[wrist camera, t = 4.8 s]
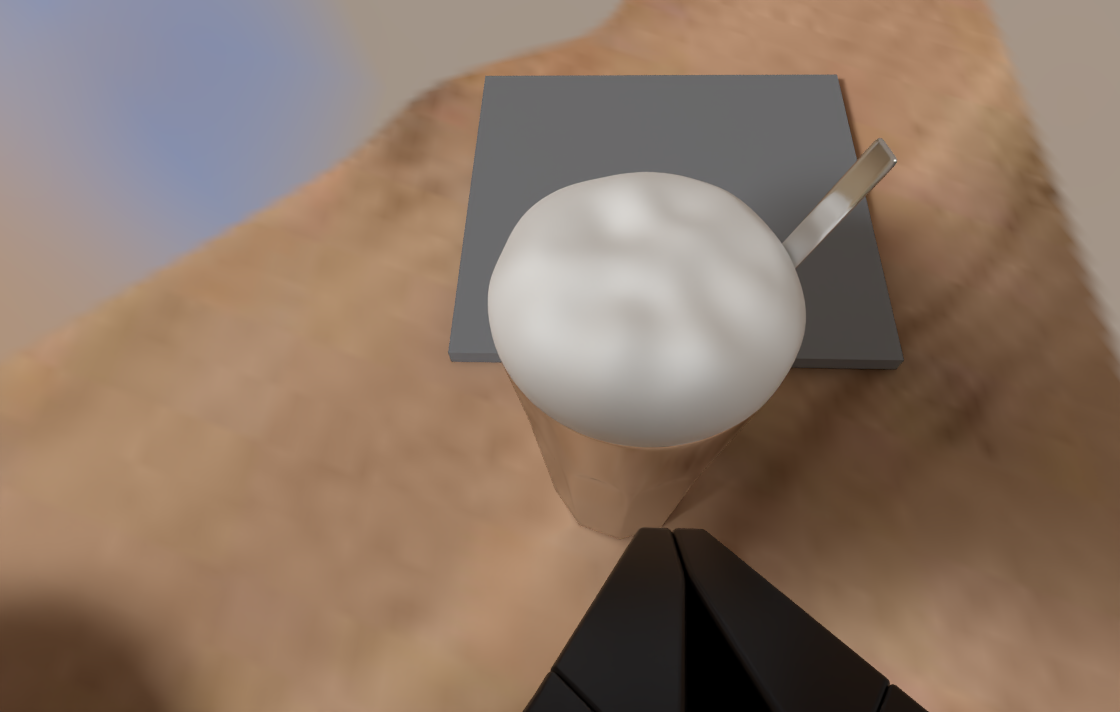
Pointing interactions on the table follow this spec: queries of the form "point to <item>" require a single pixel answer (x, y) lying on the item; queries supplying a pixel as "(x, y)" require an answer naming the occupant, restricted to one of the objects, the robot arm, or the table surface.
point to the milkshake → (651, 329)
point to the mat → (692, 151)
